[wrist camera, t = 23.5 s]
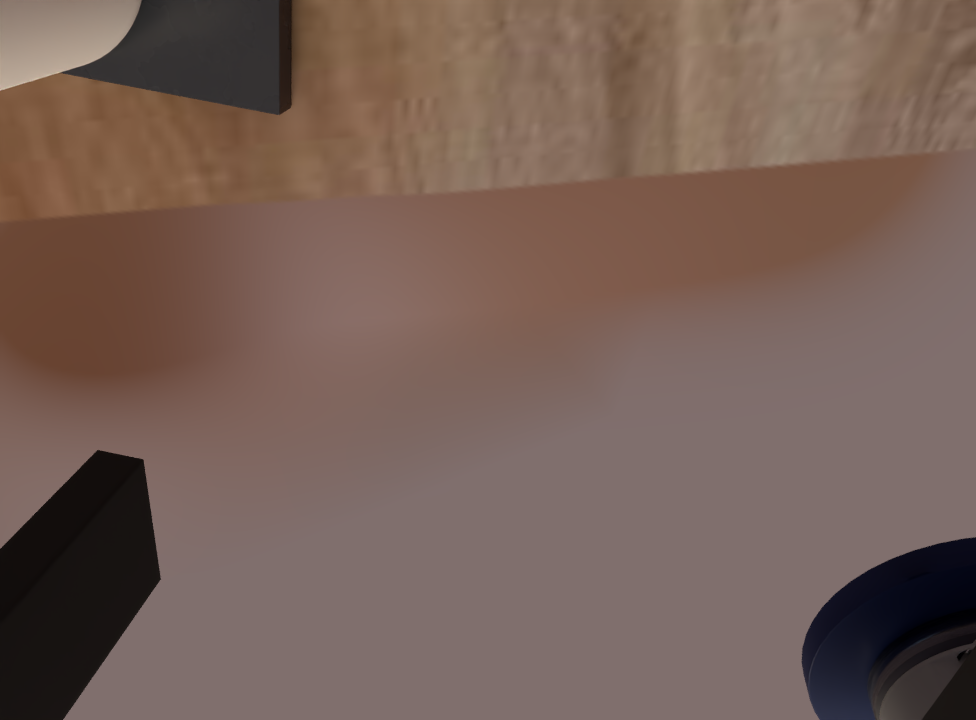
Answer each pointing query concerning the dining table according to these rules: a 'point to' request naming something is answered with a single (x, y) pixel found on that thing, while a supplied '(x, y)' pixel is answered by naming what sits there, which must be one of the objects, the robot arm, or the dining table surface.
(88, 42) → the cup
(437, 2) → the dining table surface
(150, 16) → the scale
